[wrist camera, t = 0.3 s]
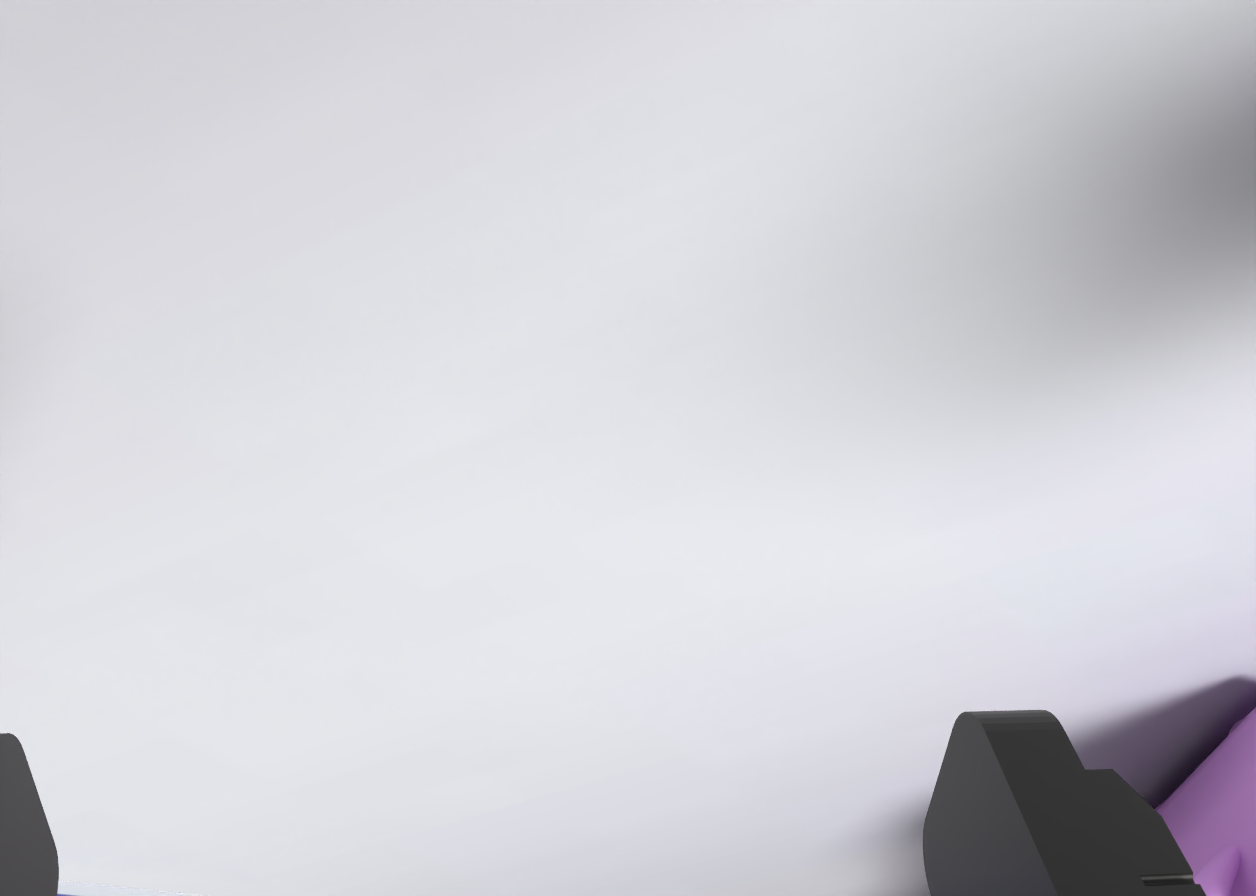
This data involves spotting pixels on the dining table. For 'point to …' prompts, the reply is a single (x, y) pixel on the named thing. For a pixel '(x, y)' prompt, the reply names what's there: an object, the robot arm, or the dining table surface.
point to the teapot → (1219, 815)
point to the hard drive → (108, 890)
